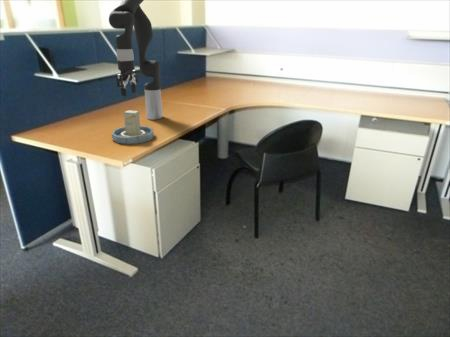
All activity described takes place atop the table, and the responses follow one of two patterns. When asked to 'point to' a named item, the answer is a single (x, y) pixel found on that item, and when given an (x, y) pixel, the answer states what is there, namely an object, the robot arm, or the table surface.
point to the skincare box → (132, 123)
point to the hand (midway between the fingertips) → (129, 94)
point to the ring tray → (121, 137)
